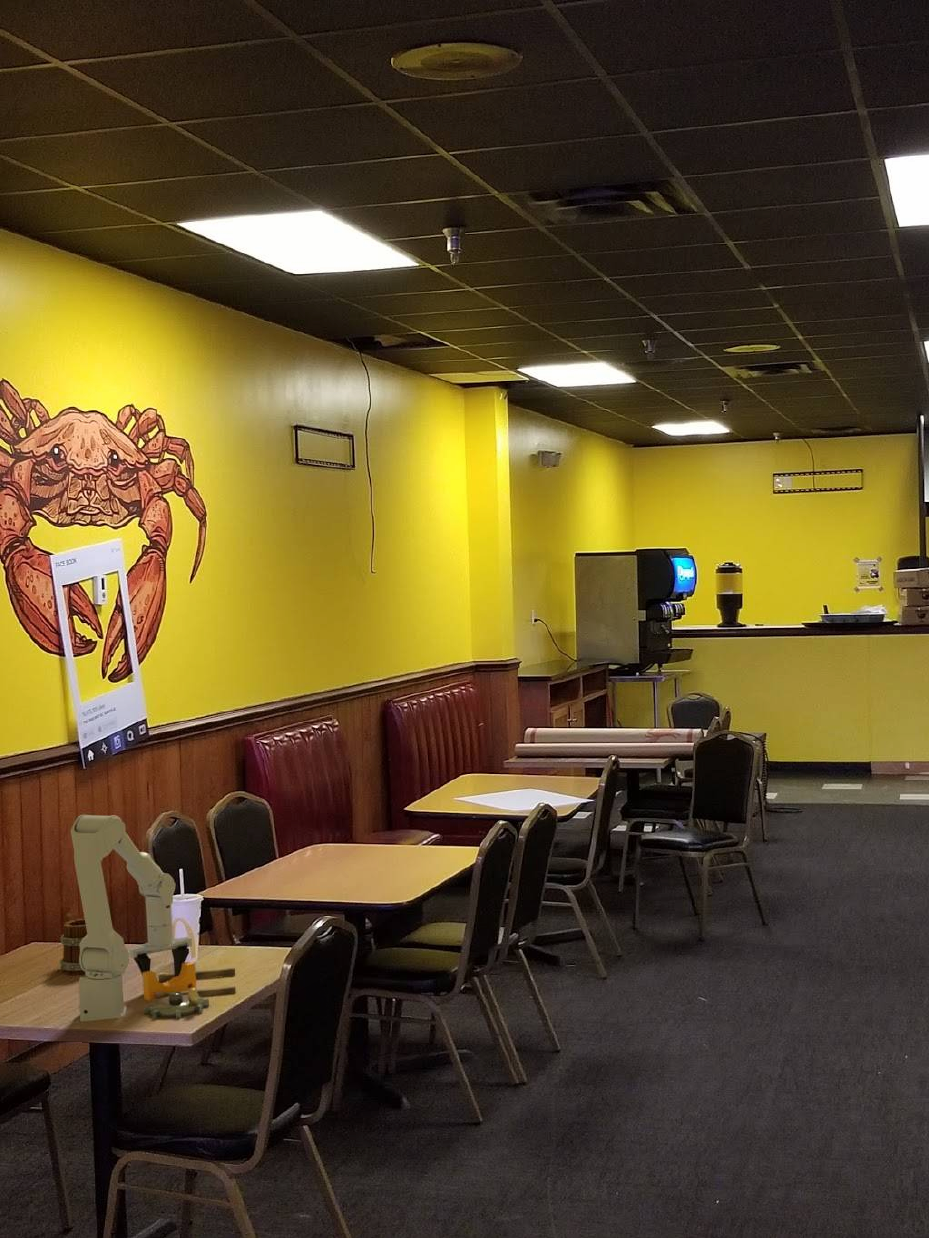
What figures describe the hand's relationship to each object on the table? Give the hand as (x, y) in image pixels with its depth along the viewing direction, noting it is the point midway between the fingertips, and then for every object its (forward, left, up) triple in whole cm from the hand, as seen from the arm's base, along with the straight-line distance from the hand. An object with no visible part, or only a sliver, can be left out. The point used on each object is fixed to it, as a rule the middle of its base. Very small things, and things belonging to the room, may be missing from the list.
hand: (163, 982), depth 335 cm
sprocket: (+4, -18, -2) cm, 18 cm away
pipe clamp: (+1, -4, -2) cm, 5 cm away
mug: (-21, +29, -2) cm, 36 cm away
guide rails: (+8, 0, -2) cm, 8 cm away
